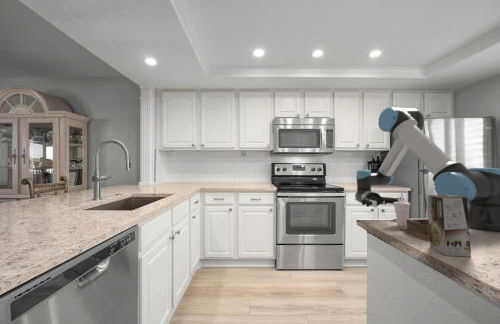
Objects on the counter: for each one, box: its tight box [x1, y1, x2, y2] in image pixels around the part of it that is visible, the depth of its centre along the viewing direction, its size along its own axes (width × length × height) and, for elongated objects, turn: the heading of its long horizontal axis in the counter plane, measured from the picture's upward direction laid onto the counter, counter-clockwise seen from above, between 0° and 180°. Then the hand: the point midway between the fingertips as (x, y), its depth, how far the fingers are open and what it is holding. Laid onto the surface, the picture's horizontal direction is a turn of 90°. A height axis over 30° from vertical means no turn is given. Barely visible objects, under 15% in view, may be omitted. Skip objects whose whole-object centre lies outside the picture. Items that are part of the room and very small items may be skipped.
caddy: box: [399, 218, 430, 242], centre depth 92 cm, size 14×16×4 cm
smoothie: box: [392, 192, 411, 227], centre depth 108 cm, size 6×6×14 cm
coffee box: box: [426, 194, 472, 257], centre depth 74 cm, size 9×6×16 cm
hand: (391, 204), depth 117 cm, fingers open, 13 cm apart
